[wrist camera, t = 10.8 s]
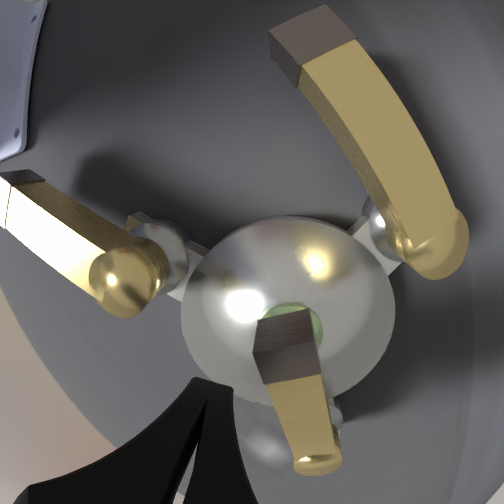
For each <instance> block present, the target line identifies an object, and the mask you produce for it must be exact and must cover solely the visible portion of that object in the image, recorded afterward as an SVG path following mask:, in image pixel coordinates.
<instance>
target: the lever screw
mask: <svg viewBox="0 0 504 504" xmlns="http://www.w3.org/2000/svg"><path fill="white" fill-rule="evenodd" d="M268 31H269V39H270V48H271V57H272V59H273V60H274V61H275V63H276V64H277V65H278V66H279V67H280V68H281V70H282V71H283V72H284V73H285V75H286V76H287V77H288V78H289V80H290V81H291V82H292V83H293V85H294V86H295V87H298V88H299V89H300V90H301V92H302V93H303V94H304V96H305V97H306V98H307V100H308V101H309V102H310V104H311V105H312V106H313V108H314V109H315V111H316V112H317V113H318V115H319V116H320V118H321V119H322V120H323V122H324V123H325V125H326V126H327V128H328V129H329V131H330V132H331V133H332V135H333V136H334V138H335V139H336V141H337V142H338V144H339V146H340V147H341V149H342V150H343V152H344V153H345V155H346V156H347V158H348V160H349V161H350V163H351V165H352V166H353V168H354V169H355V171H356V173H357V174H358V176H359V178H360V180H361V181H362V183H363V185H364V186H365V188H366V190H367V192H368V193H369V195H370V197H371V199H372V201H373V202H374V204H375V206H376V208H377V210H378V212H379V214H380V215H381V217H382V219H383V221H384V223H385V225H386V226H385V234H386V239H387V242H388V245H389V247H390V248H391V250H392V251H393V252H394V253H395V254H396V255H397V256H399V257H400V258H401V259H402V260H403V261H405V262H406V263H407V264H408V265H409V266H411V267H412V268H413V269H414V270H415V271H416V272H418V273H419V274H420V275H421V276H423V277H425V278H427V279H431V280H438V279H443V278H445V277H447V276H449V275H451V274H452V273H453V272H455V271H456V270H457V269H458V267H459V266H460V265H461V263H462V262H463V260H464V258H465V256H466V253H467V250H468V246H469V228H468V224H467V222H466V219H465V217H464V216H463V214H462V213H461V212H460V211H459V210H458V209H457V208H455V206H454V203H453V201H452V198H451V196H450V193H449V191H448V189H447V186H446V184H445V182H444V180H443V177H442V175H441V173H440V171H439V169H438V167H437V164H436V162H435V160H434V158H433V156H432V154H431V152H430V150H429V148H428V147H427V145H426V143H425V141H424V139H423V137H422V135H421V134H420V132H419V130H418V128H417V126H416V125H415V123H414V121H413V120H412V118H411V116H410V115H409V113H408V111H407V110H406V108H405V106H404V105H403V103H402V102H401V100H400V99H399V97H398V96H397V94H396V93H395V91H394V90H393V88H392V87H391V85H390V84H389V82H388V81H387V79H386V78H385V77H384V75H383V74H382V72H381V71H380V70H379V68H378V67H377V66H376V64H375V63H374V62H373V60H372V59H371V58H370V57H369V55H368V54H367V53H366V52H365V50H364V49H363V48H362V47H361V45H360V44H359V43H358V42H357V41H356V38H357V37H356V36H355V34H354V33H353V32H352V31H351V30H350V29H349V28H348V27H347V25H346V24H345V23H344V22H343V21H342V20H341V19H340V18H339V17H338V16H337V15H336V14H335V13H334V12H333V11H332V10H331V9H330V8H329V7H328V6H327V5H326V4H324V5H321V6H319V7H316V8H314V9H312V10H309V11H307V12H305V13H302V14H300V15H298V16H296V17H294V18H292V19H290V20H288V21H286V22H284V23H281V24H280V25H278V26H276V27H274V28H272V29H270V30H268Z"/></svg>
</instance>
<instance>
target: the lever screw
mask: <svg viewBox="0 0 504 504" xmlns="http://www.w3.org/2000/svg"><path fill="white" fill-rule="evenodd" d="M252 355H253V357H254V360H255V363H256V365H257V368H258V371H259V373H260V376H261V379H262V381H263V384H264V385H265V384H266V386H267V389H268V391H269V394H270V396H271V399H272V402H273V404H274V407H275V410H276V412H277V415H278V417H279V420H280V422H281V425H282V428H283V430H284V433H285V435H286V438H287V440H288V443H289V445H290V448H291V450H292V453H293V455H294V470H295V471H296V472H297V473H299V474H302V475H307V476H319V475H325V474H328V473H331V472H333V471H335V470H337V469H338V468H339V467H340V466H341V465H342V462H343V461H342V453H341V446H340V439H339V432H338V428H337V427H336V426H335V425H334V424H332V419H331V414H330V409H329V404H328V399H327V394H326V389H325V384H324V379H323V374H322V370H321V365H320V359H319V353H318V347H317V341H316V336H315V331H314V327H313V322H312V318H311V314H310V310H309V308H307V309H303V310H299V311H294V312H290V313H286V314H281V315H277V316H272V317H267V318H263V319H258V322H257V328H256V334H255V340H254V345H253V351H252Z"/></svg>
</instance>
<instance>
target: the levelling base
mask: <svg viewBox="0 0 504 504" xmlns="http://www.w3.org/2000/svg"><path fill="white" fill-rule="evenodd" d="M385 226H386V225H385V223H384V221H383V219H382V217H381V215H380V214H379V212H378V210H377V208H376V206H375V204H374V202H373V201H372V199H371V197H370V196H369V197H368V199H367V200H366V202H365V204H364V207H363V211H362V215H361V216H360V217H359V218H358V219H357V220H356V221H355V222H354V223H353V224H352V225H351V226H350V227H349V228H348V229H347V230H344V229H342V228H340V227H338V226H336V225H334V224H332V223H329V222H326V221H323V220H320V219H316V218H311V217H306V216H291V215H287V216H274V217H269V218H265V219H260V220H257V221H254V222H251V223H249V224H246V225H244V226H242V227H240V228H238V229H236V230H234V231H232V232H231V233H229V234H228V235H227V236H225V237H224V238H222V239H221V240H220V241H219V242H218V243H217V244H216V245H215V246H214V247H213V248H212V249H211V250H210V249H208V248H206V247H204V246H202V245H200V244H199V243H197V242H195V241H193V240H191V238H190V236H189V234H188V233H187V232H186V230H185V229H184V228H183V227H182V226H180V225H179V224H178V223H176V222H174V221H172V220H169V219H164V218H158V219H153V218H151V217H149V216H148V215H146V214H144V213H142V212H140V211H139V212H136V213H134V214H131V215H129V216H128V218H127V221H126V224H125V227H124V231H126V232H128V233H130V234H131V235H133V236H135V237H146V238H149V239H151V240H153V241H154V242H156V243H157V244H158V245H159V246H160V247H161V248H162V249H163V251H164V252H165V254H166V256H167V258H168V261H169V265H170V275H169V279H168V282H167V283H166V285H165V286H164V287H163V288H162V289H161V291H160V292H159V293H158V294H165V293H166V294H168V295H170V296H171V297H173V298H175V299H177V300H179V301H180V302H182V304H181V325H182V331H183V335H184V339H185V342H186V344H187V347H188V349H189V352H190V353H191V355H192V357H193V359H194V360H195V362H196V363H197V364H198V366H199V367H200V368H201V370H202V371H203V372H204V373H205V374H206V375H207V376H208V377H209V378H210V379H211V380H212V381H214V382H216V383H219V384H223V385H227V386H231V387H232V388H233V389H234V392H233V394H234V395H236V396H238V397H240V398H243V399H245V400H248V401H251V402H255V403H259V404H263V405H269V406H274V404H273V402H272V399H271V396H270V394H269V391H268V389H267V386H266V384H265V385H264V384H263V381H262V379H261V376H260V373H259V371H258V368H257V365H256V363H255V360H254V357H253V355H252V351H253V345H254V340H255V334H256V328H257V322H258V319H263V318H267V317H272V316H277V315H281V314H286V313H290V312H294V311H299V310H303V309H307V308H309V310H310V314H311V318H312V322H313V327H314V331H315V336H316V341H317V347H318V353H319V359H320V365H321V370H322V374H323V379H324V384H325V389H326V394H327V399H328V404H329V409H330V414H331V419H332V424H334V425H335V426H336V427H337V428H338V432H339V435H340V431H339V429H340V428H341V426H342V424H343V416H342V410H341V405H340V401H339V399H338V398H337V397H336V396H337V395H339V394H341V393H343V392H345V391H346V390H348V389H350V388H351V387H353V386H354V385H356V384H357V383H358V382H359V381H361V380H362V379H363V378H364V377H365V376H366V375H367V374H368V373H369V372H370V371H371V370H372V369H373V368H374V367H375V365H376V364H377V363H378V361H379V360H380V359H381V357H382V355H383V354H384V352H385V350H386V348H387V346H388V343H389V341H390V339H391V335H392V332H393V328H394V321H395V300H394V294H393V290H392V287H391V284H390V281H389V278H388V275H389V274H390V273H391V272H392V271H393V270H395V269H396V268H397V267H398V266H399V265H400V264H401V263H402V262H405V261H403V260H402V259H401V258H400V257H399V256H397V255H396V254H395V253H394V252H393V251H392V250H391V248H390V247H389V245H388V242H387V239H386V234H385ZM158 294H157V295H158Z"/></svg>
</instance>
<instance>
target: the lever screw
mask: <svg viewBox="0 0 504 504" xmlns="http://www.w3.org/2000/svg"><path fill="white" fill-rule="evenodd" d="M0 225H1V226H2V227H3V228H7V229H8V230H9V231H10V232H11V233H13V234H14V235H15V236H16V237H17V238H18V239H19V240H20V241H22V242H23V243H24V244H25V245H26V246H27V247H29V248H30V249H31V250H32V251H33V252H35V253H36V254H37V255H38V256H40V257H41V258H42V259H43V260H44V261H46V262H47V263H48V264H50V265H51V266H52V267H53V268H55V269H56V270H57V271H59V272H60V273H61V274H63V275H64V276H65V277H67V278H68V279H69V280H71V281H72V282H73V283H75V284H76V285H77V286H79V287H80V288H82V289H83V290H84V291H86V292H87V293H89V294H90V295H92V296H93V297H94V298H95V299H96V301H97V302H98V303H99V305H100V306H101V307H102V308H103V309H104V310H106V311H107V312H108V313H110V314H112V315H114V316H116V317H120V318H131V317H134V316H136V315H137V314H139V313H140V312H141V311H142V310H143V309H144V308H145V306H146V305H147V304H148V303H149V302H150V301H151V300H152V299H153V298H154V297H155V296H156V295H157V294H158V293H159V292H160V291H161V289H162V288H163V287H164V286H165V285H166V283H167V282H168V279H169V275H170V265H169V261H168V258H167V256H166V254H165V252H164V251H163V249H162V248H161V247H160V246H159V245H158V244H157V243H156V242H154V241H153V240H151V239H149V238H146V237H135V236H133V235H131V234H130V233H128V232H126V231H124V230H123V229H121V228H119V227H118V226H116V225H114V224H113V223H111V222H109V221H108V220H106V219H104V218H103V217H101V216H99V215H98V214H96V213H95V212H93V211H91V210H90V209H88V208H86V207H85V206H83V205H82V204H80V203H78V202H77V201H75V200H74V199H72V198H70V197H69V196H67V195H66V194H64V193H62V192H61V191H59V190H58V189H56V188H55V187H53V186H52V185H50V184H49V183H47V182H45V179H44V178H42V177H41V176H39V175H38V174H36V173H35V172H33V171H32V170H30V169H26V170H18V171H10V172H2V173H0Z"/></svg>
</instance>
